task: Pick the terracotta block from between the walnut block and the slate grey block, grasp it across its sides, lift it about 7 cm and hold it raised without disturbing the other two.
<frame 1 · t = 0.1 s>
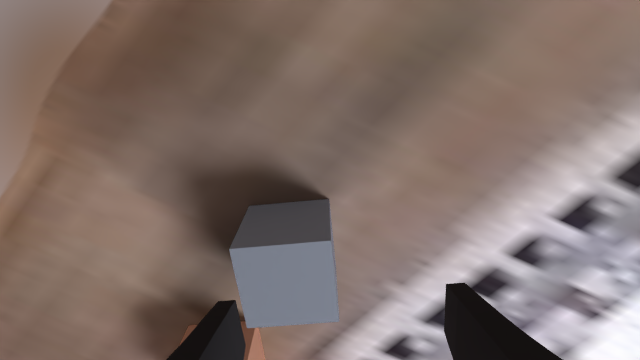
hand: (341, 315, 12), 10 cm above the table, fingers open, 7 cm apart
terracotta block: (229, 348, 26), on the table
slate block: (294, 236, 22), on the table
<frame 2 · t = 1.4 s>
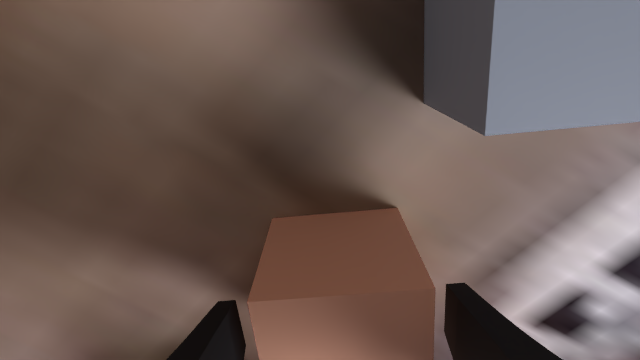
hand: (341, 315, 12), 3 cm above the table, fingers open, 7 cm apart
terracotta block: (339, 264, 15), on the table
slate block: (500, 18, 11), on the table
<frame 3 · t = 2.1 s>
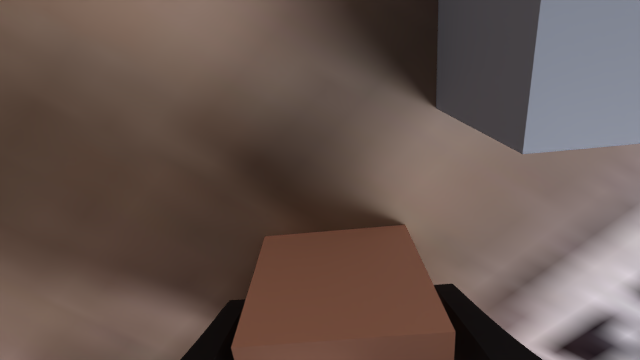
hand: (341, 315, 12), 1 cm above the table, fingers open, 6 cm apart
terracotta block: (339, 286, 13), on the table
slate block: (526, 10, 10), on the table
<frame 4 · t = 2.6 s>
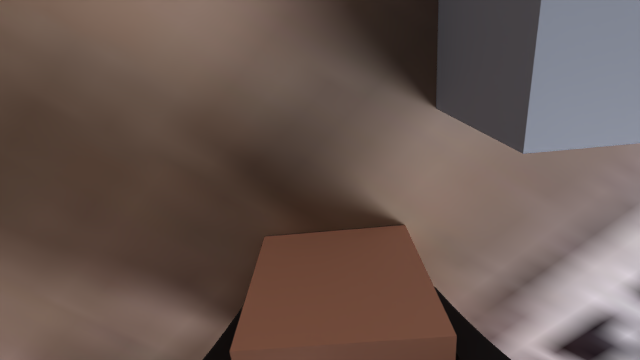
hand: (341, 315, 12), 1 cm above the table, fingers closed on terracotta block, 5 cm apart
terracotta block: (339, 288, 13), on the table, touching gripper
slate block: (526, 11, 10), on the table
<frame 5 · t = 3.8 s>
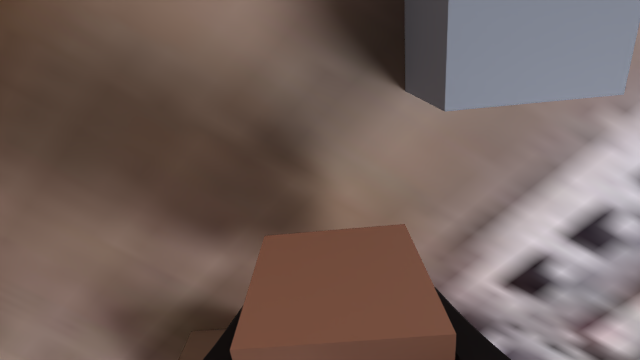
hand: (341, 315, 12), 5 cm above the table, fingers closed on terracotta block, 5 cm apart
terracotta block: (339, 287, 13), point 4 cm above the table, touching gripper
slate block: (468, 19, 14), on the table
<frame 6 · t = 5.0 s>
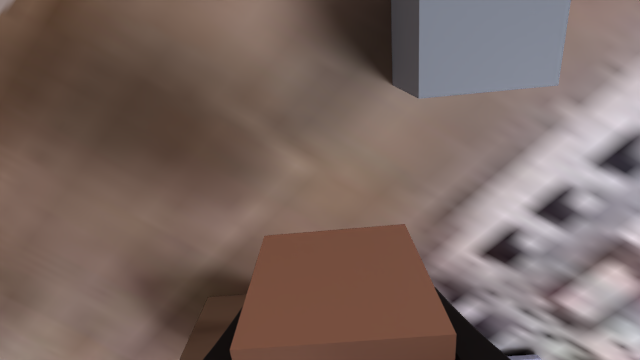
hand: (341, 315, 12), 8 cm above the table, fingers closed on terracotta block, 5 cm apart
terracotta block: (339, 287, 13), point 7 cm above the table, touching gripper
slate block: (444, 25, 16), on the table
walnut block: (253, 323, 23), on the table
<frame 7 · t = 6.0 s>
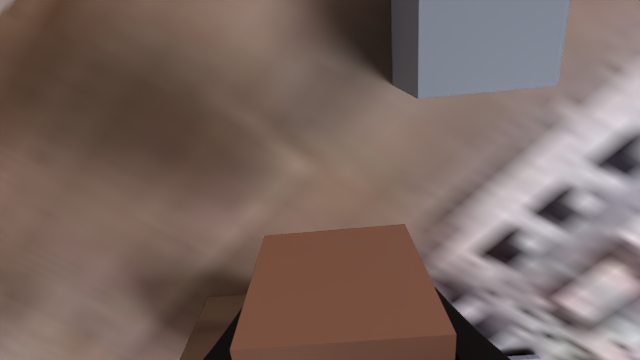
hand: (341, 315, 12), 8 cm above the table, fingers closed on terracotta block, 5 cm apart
terracotta block: (339, 287, 13), point 7 cm above the table, touching gripper
slate block: (444, 25, 16), on the table
walnut block: (253, 323, 23), on the table
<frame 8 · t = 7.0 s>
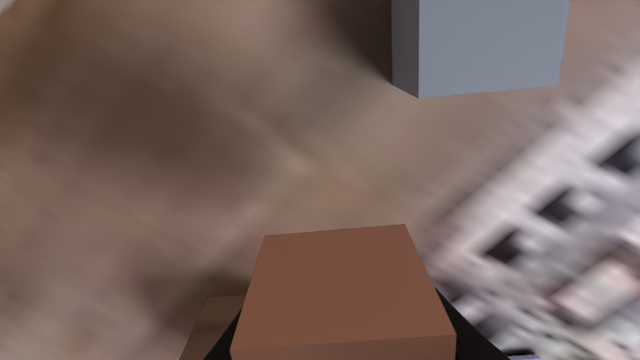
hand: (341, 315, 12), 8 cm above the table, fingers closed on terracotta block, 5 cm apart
terracotta block: (339, 287, 13), point 7 cm above the table, touching gripper
slate block: (444, 25, 16), on the table
walnut block: (253, 323, 23), on the table
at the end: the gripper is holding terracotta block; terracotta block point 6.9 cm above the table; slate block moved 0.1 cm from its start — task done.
